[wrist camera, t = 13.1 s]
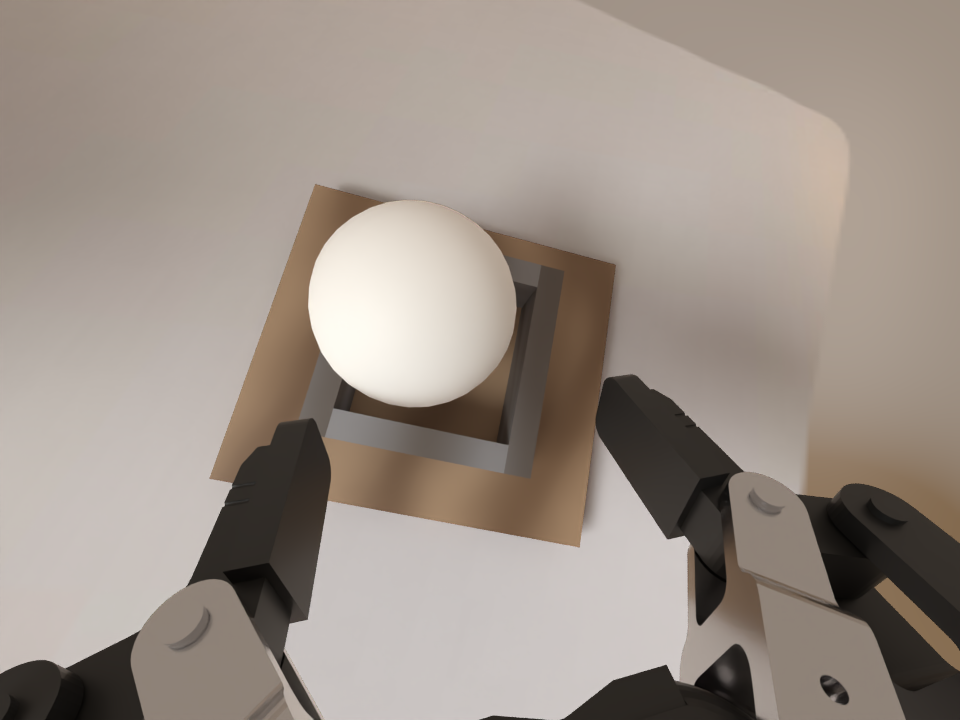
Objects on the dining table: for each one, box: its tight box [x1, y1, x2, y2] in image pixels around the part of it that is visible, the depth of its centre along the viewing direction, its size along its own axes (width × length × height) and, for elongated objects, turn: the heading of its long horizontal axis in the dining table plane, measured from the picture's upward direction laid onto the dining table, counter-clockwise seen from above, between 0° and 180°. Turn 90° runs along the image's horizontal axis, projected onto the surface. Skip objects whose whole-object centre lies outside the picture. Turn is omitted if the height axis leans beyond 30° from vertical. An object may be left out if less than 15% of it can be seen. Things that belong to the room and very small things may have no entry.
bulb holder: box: [209, 184, 616, 547], centre depth 18 cm, size 18×16×4 cm
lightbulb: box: [308, 200, 517, 407], centre depth 13 cm, size 6×6×11 cm
